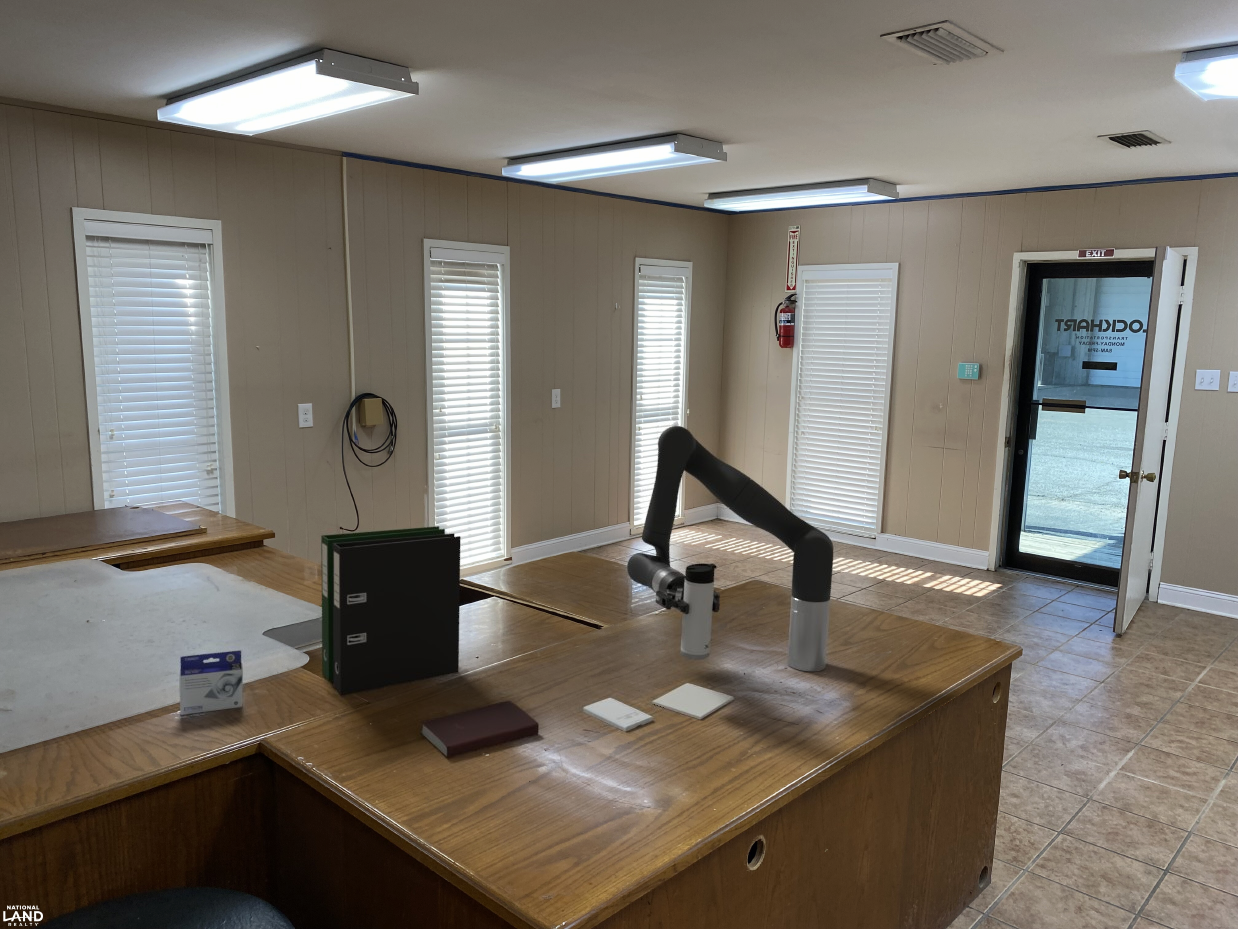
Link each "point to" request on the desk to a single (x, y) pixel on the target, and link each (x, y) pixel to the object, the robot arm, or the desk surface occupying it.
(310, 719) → the desk surface
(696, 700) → the white square pad
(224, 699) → the ink box
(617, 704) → the external hard drive
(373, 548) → the ring binders
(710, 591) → the travel mug
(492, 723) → the book
